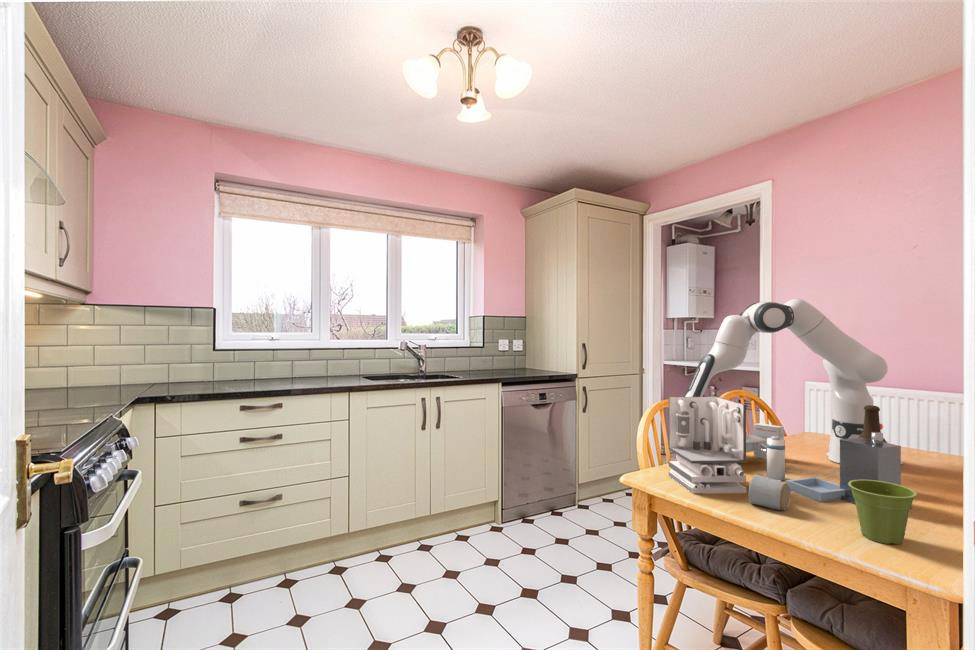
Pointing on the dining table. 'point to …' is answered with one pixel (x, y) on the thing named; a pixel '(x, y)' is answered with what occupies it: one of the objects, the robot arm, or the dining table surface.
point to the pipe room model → (707, 444)
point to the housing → (868, 462)
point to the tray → (816, 489)
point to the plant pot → (882, 509)
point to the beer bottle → (871, 421)
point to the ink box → (767, 435)
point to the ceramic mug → (769, 492)
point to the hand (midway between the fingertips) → (755, 451)
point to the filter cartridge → (776, 458)
